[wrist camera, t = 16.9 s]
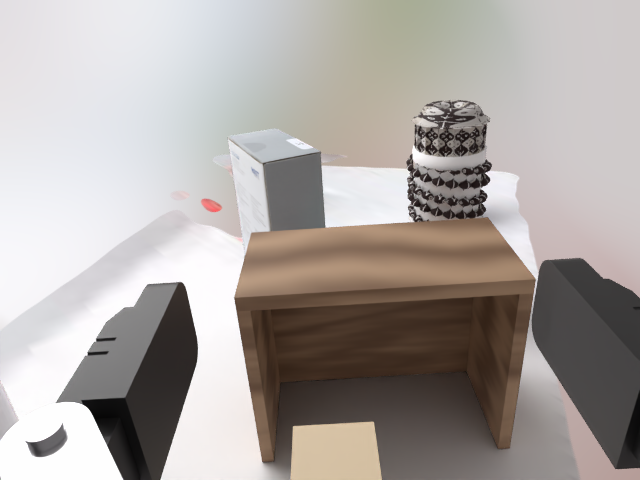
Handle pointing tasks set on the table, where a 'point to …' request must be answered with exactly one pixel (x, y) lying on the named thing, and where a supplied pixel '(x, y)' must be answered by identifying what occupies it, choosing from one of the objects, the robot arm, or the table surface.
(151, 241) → the table surface
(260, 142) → the hard drive box
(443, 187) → the decorative candle
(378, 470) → the block
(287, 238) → the cubby
